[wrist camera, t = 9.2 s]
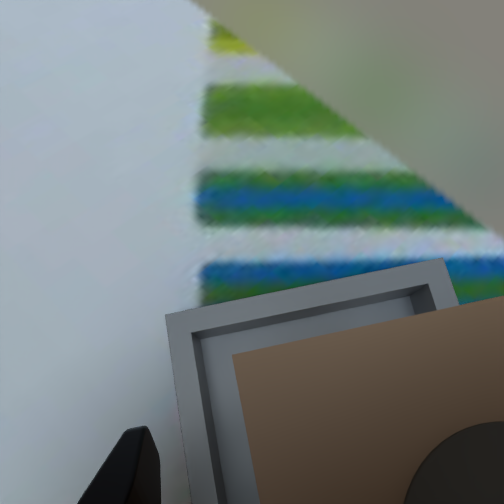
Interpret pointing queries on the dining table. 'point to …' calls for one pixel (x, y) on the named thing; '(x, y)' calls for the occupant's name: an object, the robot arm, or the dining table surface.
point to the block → (381, 411)
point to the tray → (265, 335)
